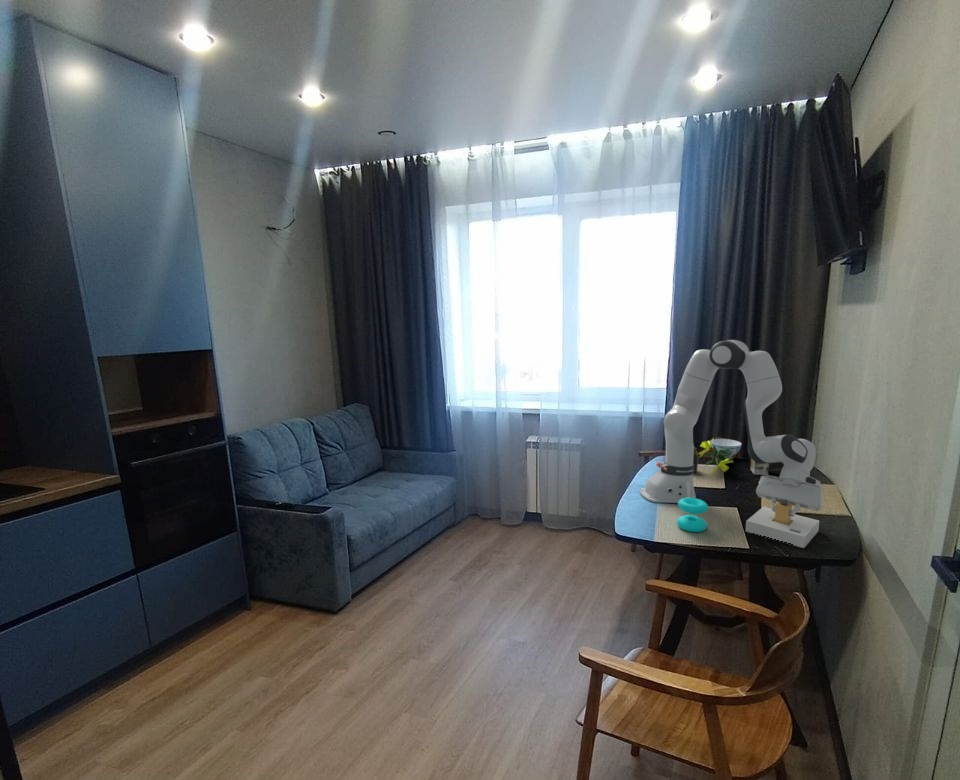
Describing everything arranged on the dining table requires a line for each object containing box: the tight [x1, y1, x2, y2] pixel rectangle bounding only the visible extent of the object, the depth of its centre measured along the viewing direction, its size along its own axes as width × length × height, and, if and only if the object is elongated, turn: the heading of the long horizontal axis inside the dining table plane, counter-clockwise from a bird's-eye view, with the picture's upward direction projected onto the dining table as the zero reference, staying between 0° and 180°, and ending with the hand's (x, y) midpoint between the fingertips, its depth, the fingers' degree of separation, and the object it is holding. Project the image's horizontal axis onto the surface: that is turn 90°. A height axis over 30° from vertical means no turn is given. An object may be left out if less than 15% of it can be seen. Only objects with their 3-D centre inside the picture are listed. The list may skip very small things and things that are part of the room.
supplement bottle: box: [693, 446, 699, 474], centre depth 239 cm, size 7×7×12 cm
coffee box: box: [749, 457, 770, 476], centre depth 236 cm, size 9×6×16 cm
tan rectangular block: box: [774, 500, 793, 525], centre depth 173 cm, size 4×4×10 cm
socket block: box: [745, 506, 820, 549], centre depth 174 cm, size 18×18×4 cm
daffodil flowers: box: [698, 437, 734, 475], centre depth 242 cm, size 17×15×35 cm
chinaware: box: [709, 438, 742, 459], centre depth 263 cm, size 15×15×8 cm
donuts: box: [676, 497, 709, 533], centre depth 178 cm, size 10×10×10 cm
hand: (782, 513), depth 173 cm, fingers closed on tan rectangular block, 4 cm apart
